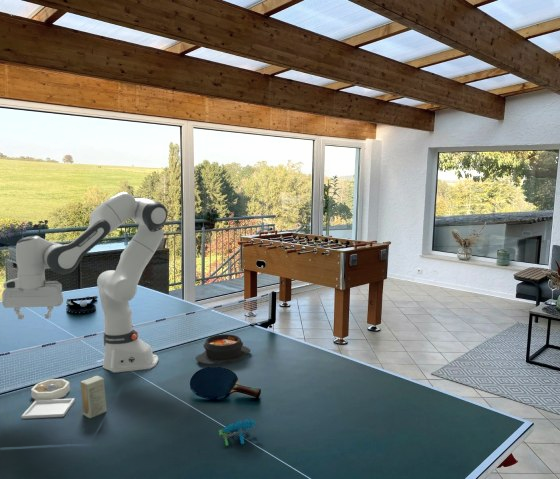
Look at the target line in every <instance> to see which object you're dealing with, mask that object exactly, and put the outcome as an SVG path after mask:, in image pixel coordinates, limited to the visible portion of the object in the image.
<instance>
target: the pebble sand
mask: <svg viewBox="0 0 560 479" xmlns="http://www.w3.org/2000/svg"><path fill="white" fill-rule="evenodd" d="M36 391H38V392H46V391H47V387H46V386H45V385H43V384H41V385H38V386H37V387H36Z"/></svg>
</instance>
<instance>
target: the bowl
mask: <svg viewBox="0 0 560 479" xmlns="http://www.w3.org/2000/svg"><path fill="white" fill-rule="evenodd" d="M41 384H43V385H45V386H46V387H48V386H49V385H50V384H55V385H56V386H57V388H58V389H57V390H55V391H52V392H47V391H46V392H38V391H36V387H37V386H38V385H41ZM70 384H71V383H70V381H68V380H66V379H64V378H55V379H54V378H53V379H50V378H49V379H47V380H44V381H41V382H38V383H36V384H35V385H34V386H33V387H32V388H31V389H30V391H31V398H32V399H34V401H35V400H50V399H62V398H64V397H66V396H67V394H68V393H69V392H70V391H71V387H70V386H71V385H70Z"/></svg>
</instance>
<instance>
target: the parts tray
mask: <svg viewBox="0 0 560 479" xmlns="http://www.w3.org/2000/svg"><path fill="white" fill-rule="evenodd" d="M75 402H76V398H75V397H73V398H58V399H50V400H35V399H34V401H33V402H32V404H31V405H30V406H29V407H28V408H27V409H26V410H25V411H24V413H22V414H21V417H20V418H21V419H40V418H42V419H43V418H46V419H47V418H62V417H65V415H66V414H67V412H68V411H69V410H70V408H72V406H73V405H74V403H75Z"/></svg>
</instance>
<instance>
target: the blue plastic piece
mask: <svg viewBox="0 0 560 479" xmlns="http://www.w3.org/2000/svg"><path fill="white" fill-rule="evenodd" d="M254 426H256V422H255V421H254V419H250V420H249V419H244V421H243V422H242V420H238V421H236V423H229V424H228V425H226V426H224V427H223V429H219V430H218V433H219V434H218V435H219V436H222V439H224V442H225V446H226V447H229V441H228V438H230V437H235V436H238V437H239V440H240V445H244V444H245V440H244V435H243V433H244V432H247V431H248V430H249V429H253V428H254Z"/></svg>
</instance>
